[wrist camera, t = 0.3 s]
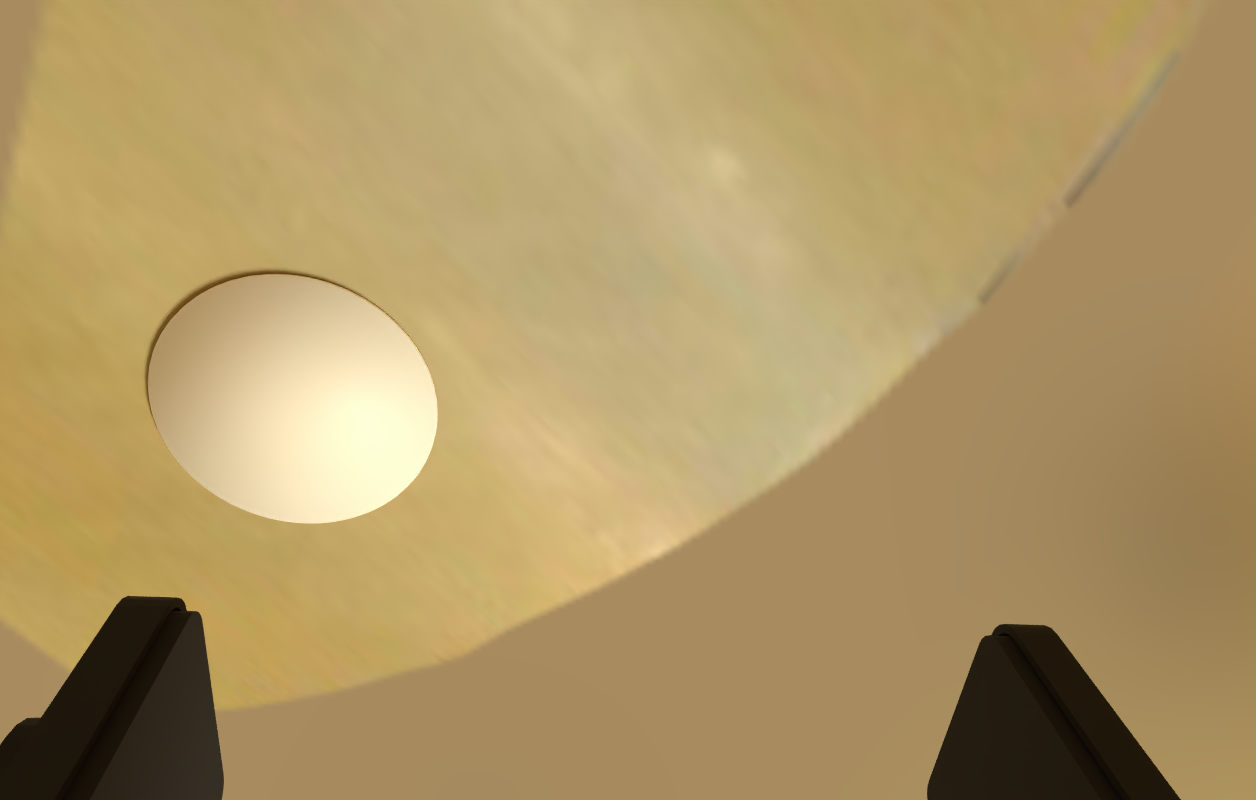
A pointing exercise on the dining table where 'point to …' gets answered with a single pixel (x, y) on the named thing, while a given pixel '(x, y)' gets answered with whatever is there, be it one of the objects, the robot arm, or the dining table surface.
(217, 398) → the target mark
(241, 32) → the dining table surface
